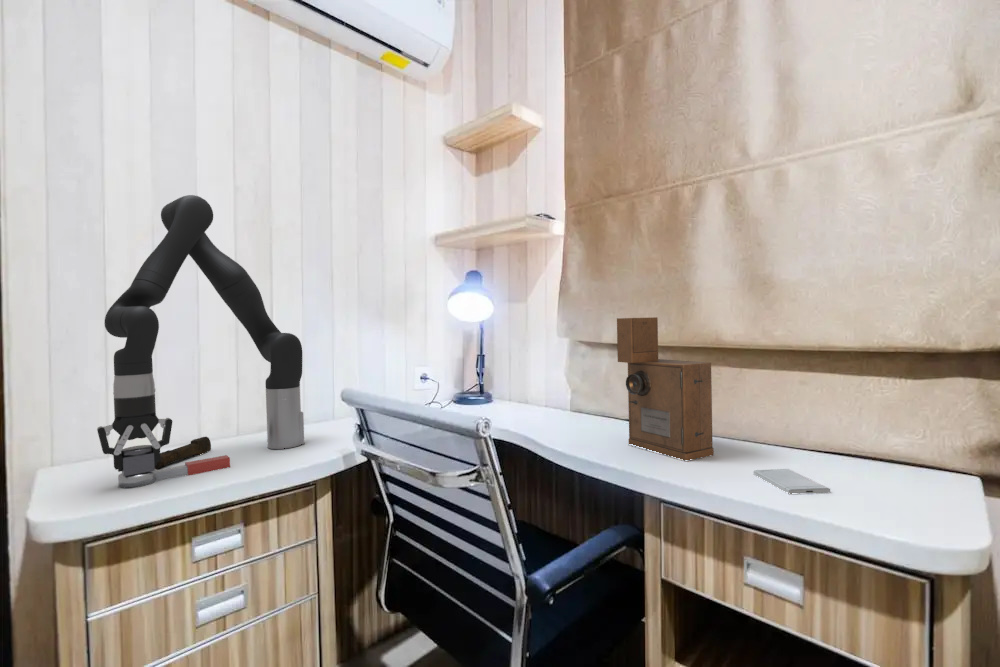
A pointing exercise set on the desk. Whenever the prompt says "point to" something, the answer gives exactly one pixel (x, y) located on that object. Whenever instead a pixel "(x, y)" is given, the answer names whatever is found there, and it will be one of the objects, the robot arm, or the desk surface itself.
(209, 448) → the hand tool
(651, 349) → the vintage camera
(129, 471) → the block with domed cap
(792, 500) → the desk surface
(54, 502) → the desk surface
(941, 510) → the desk surface
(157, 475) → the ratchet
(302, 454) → the desk surface
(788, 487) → the hard drive
